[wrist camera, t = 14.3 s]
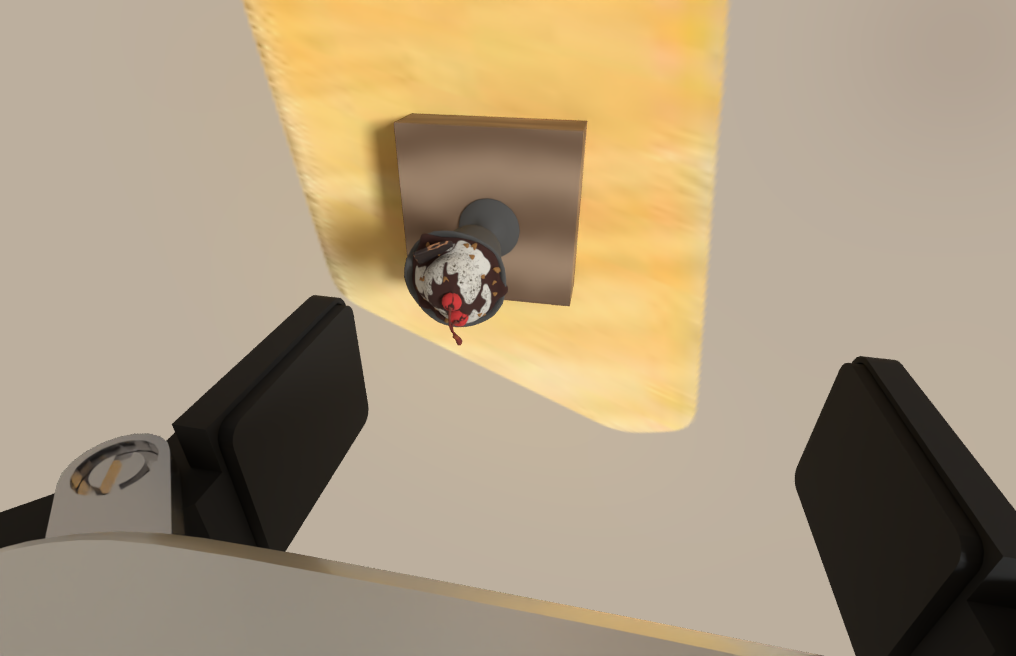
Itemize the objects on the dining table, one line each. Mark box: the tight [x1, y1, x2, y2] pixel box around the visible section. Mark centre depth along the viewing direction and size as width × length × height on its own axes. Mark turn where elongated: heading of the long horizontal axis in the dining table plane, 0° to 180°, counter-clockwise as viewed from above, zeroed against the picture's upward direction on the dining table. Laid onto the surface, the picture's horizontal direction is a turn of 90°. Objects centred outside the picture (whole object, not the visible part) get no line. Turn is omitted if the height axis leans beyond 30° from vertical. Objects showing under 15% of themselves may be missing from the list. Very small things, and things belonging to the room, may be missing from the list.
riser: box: [394, 113, 587, 306], centre depth 43 cm, size 14×14×4 cm
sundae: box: [404, 198, 520, 345], centre depth 35 cm, size 7×7×15 cm
